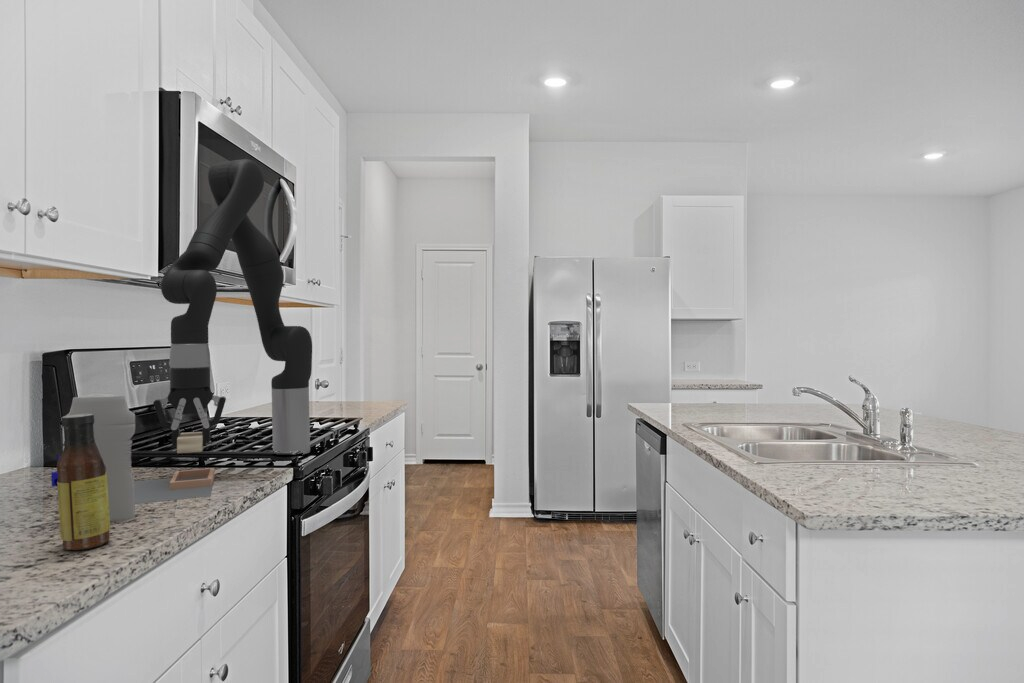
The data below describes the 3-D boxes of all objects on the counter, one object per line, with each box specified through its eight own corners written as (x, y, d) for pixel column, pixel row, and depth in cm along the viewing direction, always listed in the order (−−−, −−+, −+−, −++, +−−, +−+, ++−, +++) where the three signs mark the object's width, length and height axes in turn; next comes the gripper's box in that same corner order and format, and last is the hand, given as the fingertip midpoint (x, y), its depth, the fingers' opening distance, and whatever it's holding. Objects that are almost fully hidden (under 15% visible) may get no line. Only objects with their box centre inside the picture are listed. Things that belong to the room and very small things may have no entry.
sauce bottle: (119, 537, 99) (116, 411, 98) (94, 552, 92) (90, 417, 92) (76, 538, 98) (73, 412, 98) (48, 553, 92) (44, 418, 92)
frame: (175, 478, 136) (175, 471, 136) (214, 474, 139) (214, 467, 139) (169, 490, 126) (169, 482, 126) (211, 486, 129) (211, 478, 128)
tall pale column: (61, 529, 103) (57, 395, 102) (71, 522, 107) (67, 393, 106) (134, 523, 106) (130, 393, 105) (141, 516, 110) (138, 390, 109)
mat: (132, 483, 133) (132, 481, 133) (215, 476, 139) (215, 474, 139) (113, 508, 115) (113, 505, 115) (210, 498, 121) (210, 496, 121)
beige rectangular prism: (201, 451, 129) (201, 437, 129) (177, 453, 127) (176, 438, 127) (204, 445, 136) (204, 431, 136) (181, 446, 135) (181, 432, 135)
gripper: (228, 363, 138) (229, 441, 138) (154, 365, 132) (155, 446, 133) (226, 365, 131) (227, 447, 131) (148, 367, 125) (149, 452, 126)
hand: (191, 446), depth 132 cm, fingers closed on beige rectangular prism, 4 cm apart
